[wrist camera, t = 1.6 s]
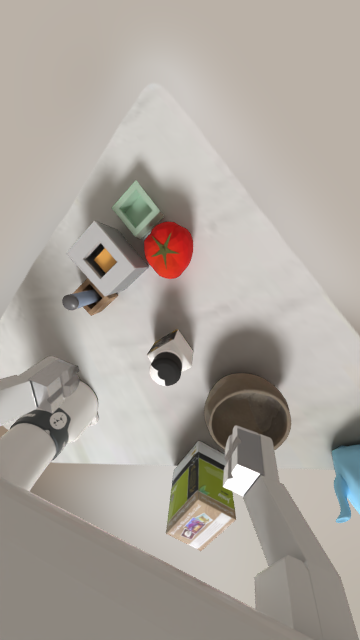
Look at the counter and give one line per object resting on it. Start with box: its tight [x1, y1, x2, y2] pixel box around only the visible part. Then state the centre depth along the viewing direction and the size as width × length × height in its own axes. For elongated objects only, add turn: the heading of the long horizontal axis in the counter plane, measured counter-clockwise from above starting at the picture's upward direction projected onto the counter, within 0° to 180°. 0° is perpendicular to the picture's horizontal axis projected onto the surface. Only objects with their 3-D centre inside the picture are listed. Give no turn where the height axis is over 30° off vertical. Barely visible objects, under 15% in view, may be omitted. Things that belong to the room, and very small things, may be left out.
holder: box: [73, 278, 118, 316], centre depth 43 cm, size 6×6×4 cm
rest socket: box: [112, 181, 164, 239], centre depth 37 cm, size 7×7×4 cm
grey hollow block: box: [66, 221, 148, 296], centre depth 38 cm, size 8×10×9 cm
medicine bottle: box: [147, 329, 193, 386], centre depth 41 cm, size 7×7×12 cm
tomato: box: [144, 222, 193, 279], centre depth 36 cm, size 9×10×8 cm
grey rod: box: [62, 289, 102, 310], centre depth 39 cm, size 3×3×10 cm
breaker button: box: [94, 248, 117, 273], centre depth 37 cm, size 3×3×2 cm
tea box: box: [166, 441, 236, 551], centre depth 49 cm, size 15×10×15 cm
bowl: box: [204, 373, 291, 450], centre depth 43 cm, size 17×18×10 cm
